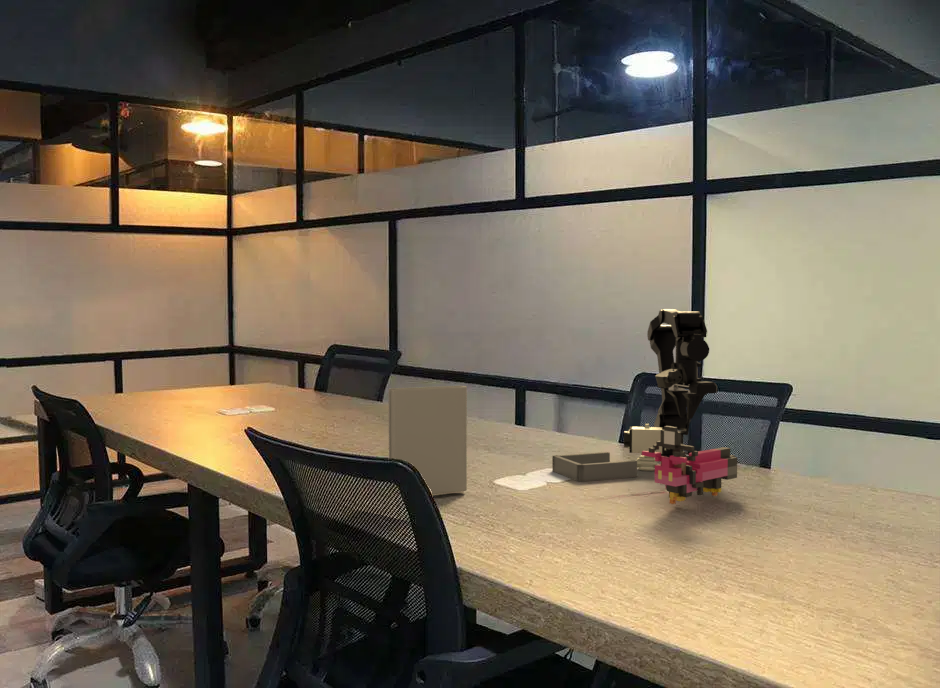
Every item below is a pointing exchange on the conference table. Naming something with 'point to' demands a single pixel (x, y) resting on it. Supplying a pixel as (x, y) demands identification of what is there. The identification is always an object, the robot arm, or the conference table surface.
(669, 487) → the figurine
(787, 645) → the conference table surface
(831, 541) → the conference table surface
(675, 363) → the robot arm
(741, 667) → the conference table surface
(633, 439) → the pneumatic valve
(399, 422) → the book
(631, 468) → the housing bay
